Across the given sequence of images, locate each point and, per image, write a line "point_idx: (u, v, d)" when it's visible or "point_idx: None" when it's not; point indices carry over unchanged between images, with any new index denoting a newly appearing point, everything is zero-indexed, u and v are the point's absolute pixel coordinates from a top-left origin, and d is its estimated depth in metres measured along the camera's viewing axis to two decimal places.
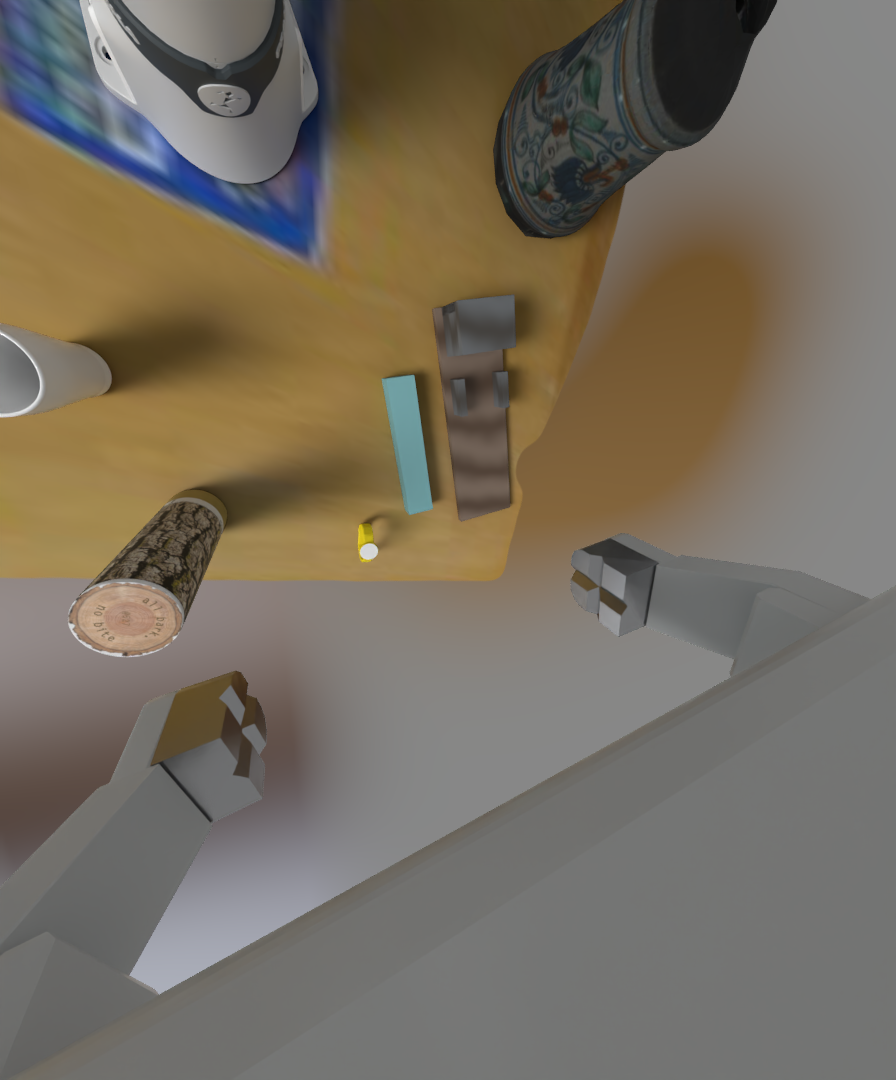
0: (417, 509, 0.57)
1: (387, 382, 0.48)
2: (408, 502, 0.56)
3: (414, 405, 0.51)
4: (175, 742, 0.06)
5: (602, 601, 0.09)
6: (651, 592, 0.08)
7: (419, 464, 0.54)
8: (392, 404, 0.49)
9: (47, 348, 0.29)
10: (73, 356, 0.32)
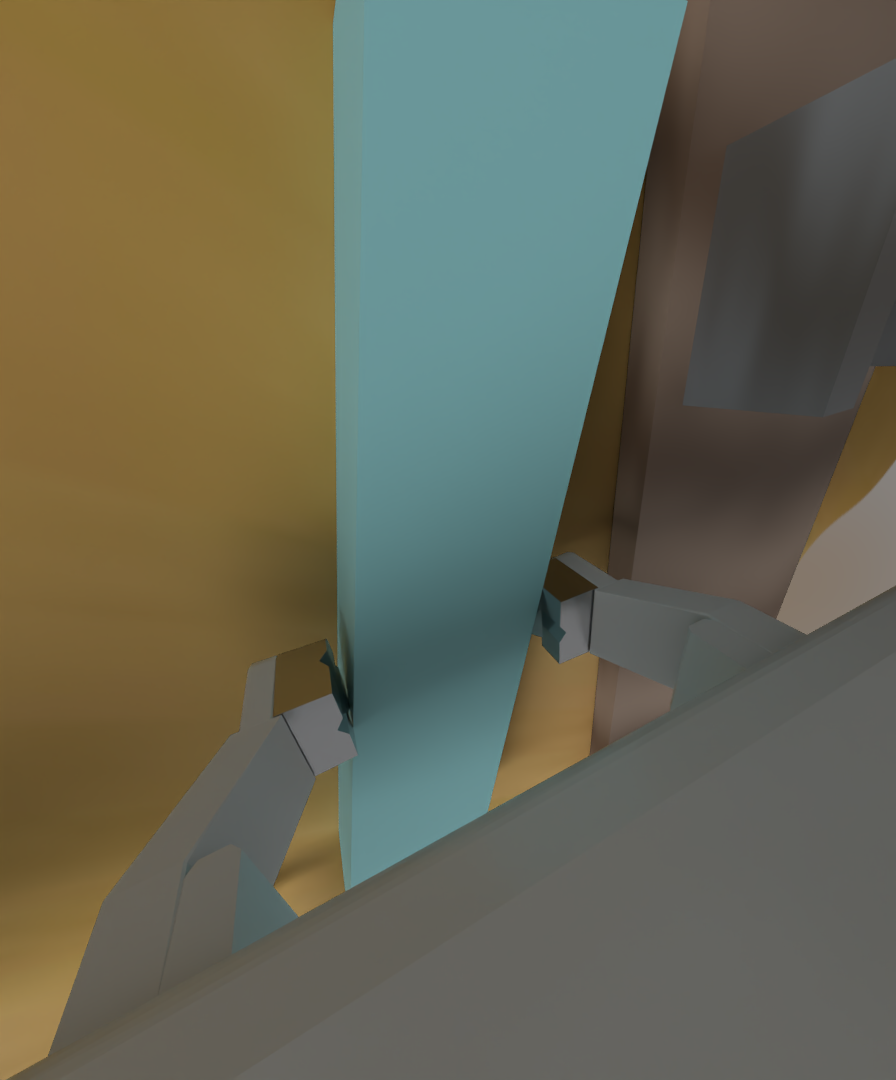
0: None
1: None
2: None
3: (572, 340, 0.06)
4: (290, 698, 0.06)
5: (543, 625, 0.08)
6: (592, 617, 0.08)
7: (474, 725, 0.09)
8: (382, 249, 0.04)
9: None
10: None
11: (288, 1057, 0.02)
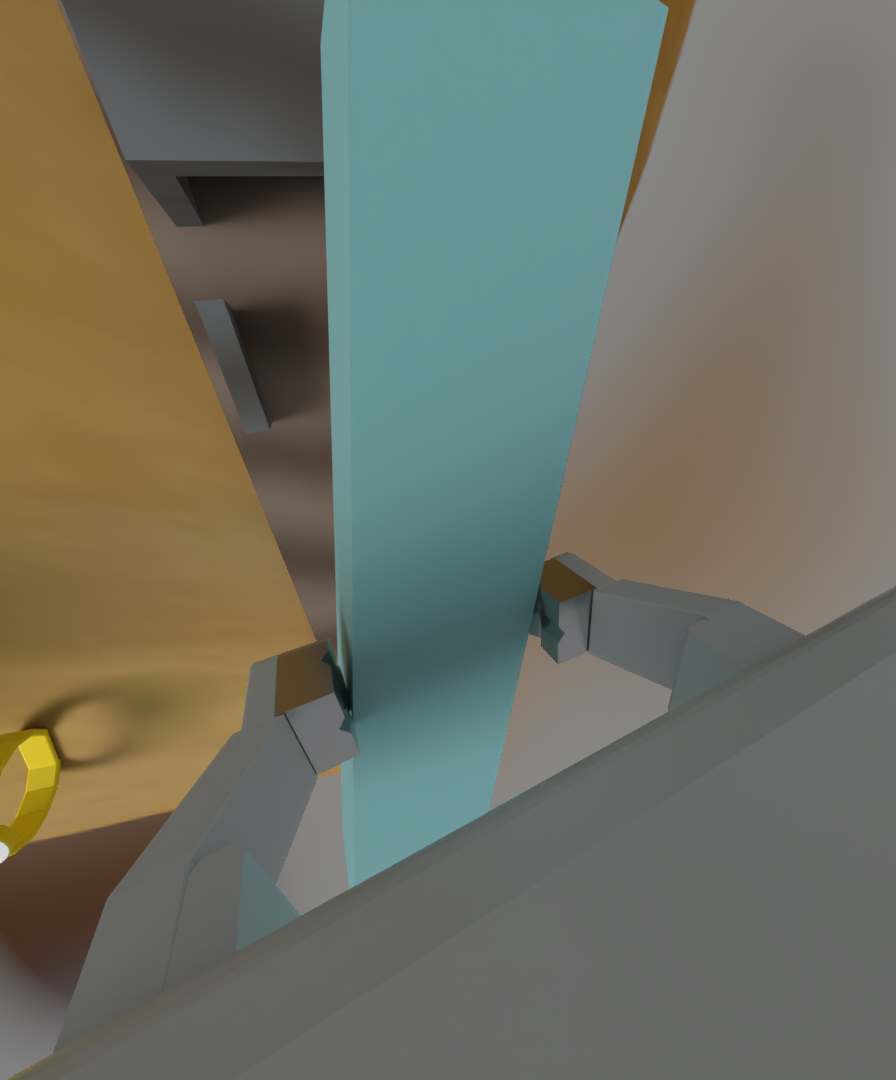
0: None
1: None
2: None
3: (562, 343, 0.06)
4: (292, 697, 0.06)
5: (542, 626, 0.08)
6: (591, 617, 0.08)
7: (473, 724, 0.09)
8: (372, 260, 0.04)
9: None
10: None
11: (288, 1057, 0.02)
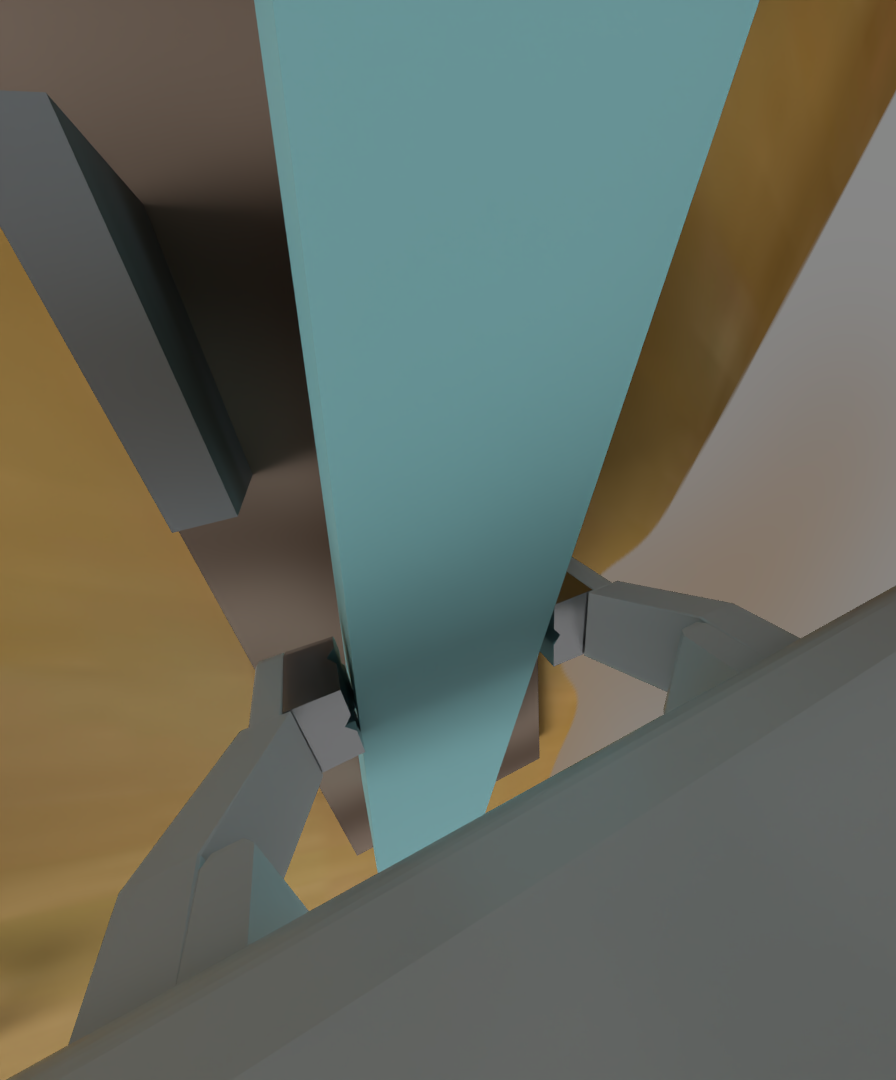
0: (417, 849, 0.13)
1: None
2: (381, 850, 0.11)
3: (598, 366, 0.04)
4: (298, 695, 0.06)
5: None
6: (587, 619, 0.08)
7: (481, 729, 0.09)
8: (340, 295, 0.03)
9: None
10: None
11: (288, 1057, 0.02)
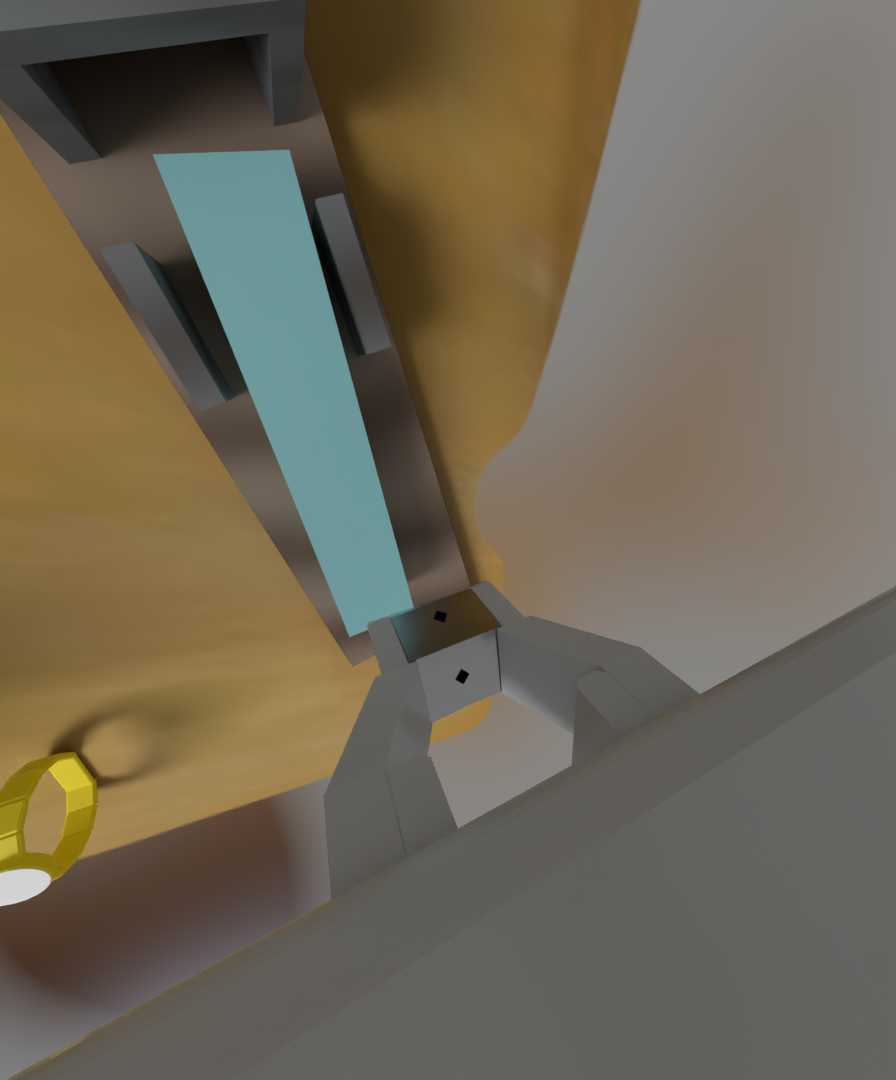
0: (371, 620, 0.21)
1: (166, 176, 0.11)
2: (341, 607, 0.19)
3: (311, 293, 0.13)
4: (419, 648, 0.07)
5: None
6: (499, 656, 0.07)
7: (361, 500, 0.17)
8: (216, 287, 0.12)
9: None
10: None
11: (288, 1057, 0.02)
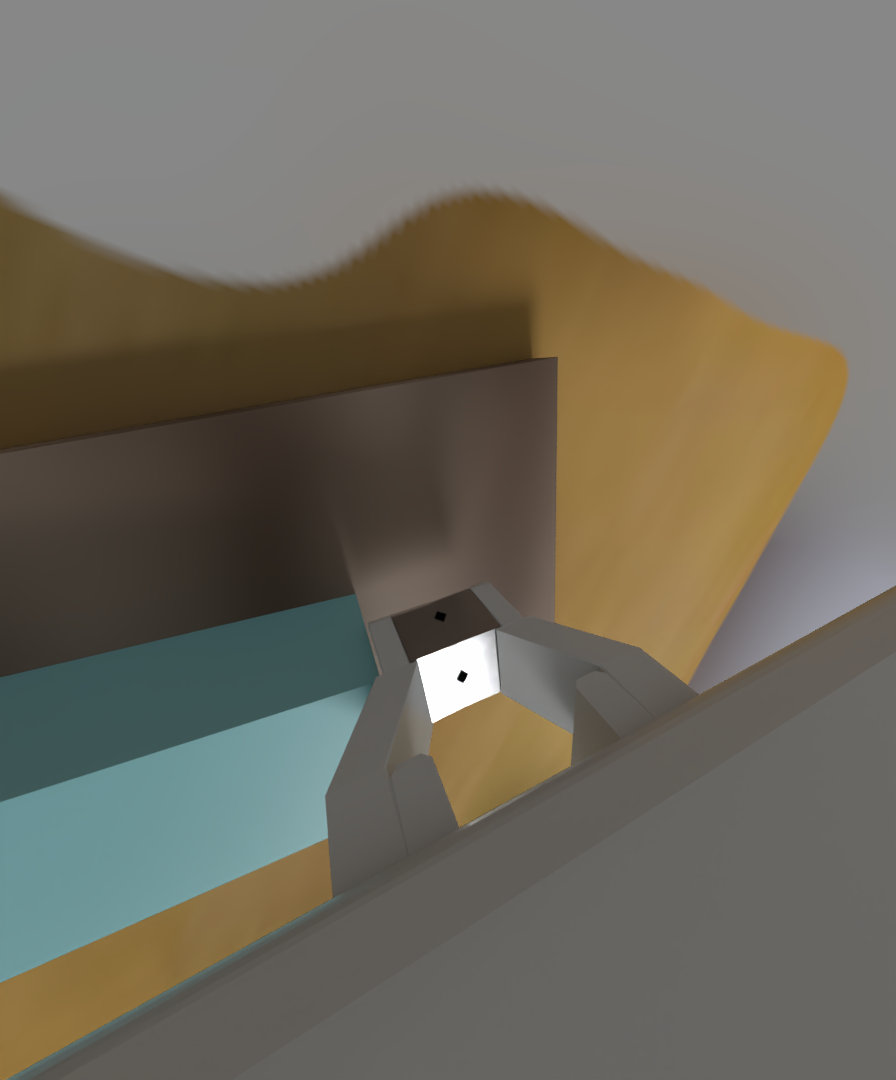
0: None
1: None
2: (303, 843, 0.07)
3: None
4: (419, 647, 0.07)
5: None
6: (498, 656, 0.07)
7: None
8: None
9: None
10: None
11: (288, 1058, 0.02)
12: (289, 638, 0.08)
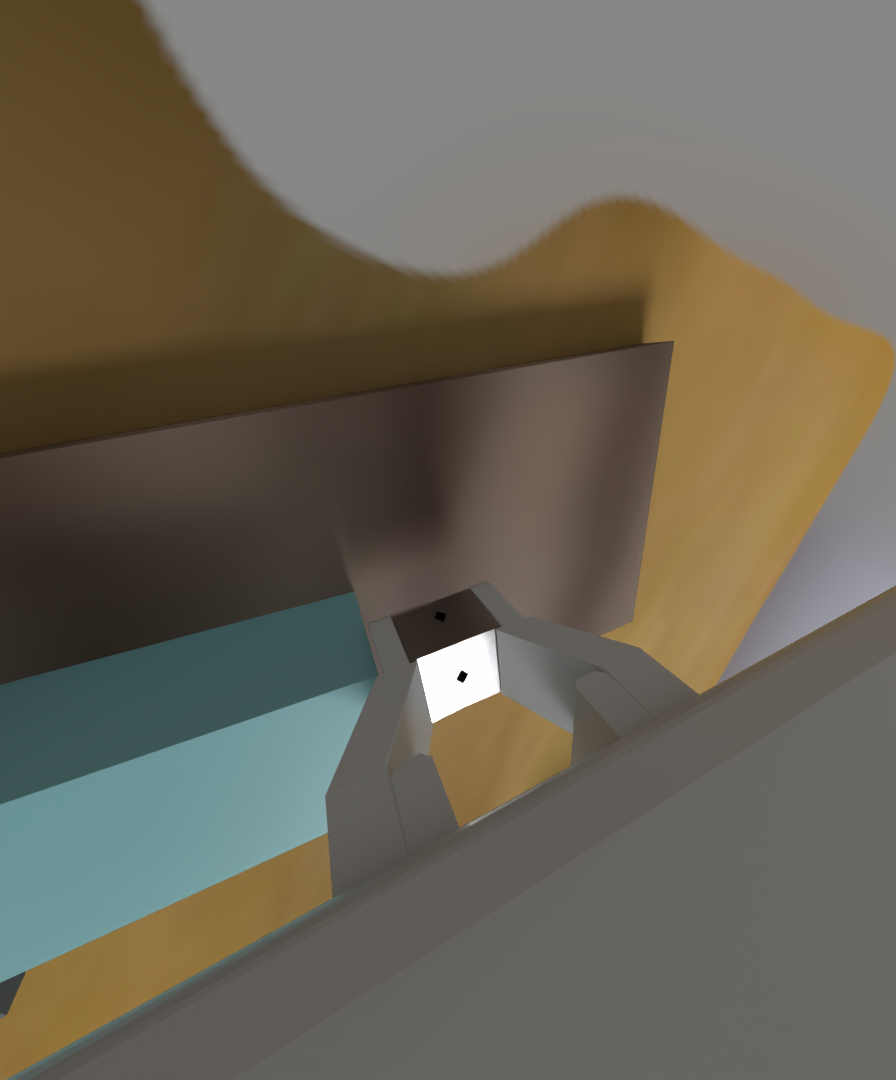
0: None
1: None
2: (309, 835, 0.08)
3: None
4: (420, 647, 0.07)
5: None
6: (498, 657, 0.07)
7: None
8: None
9: None
10: None
11: (288, 1057, 0.02)
12: (289, 636, 0.08)
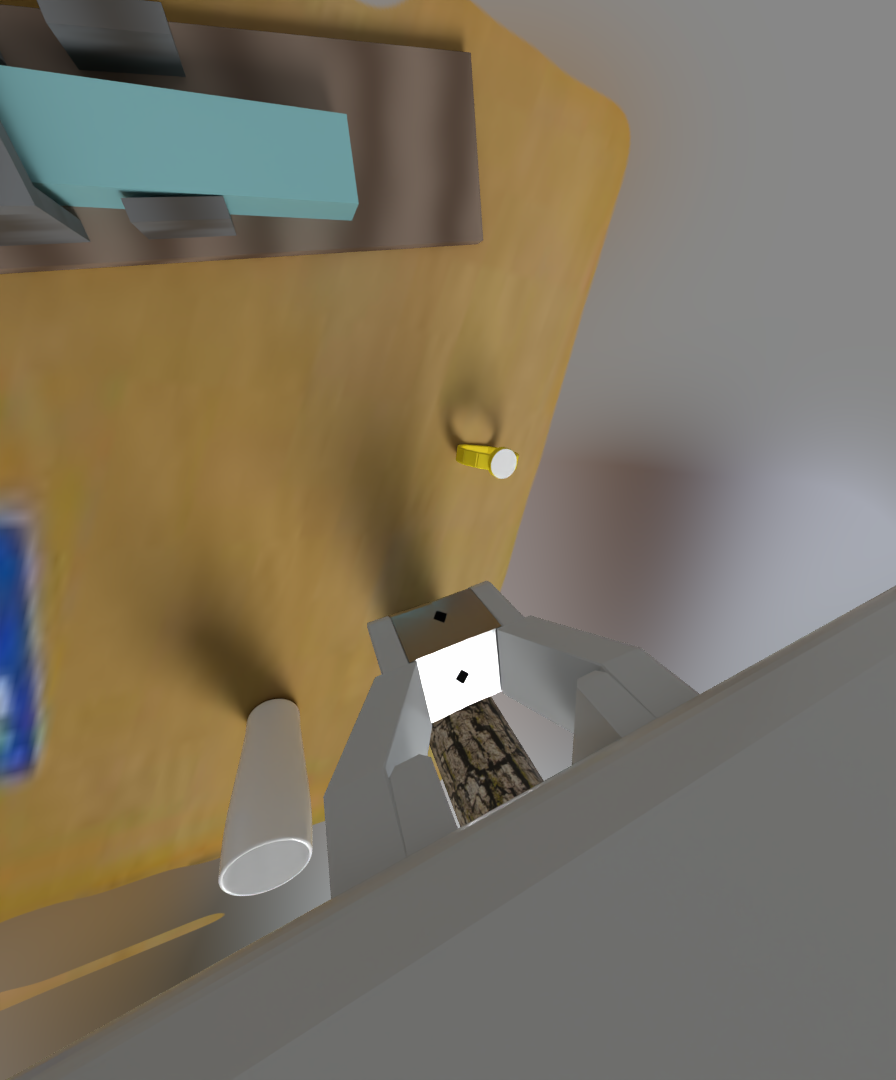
0: (345, 172, 0.22)
1: None
2: (324, 197, 0.22)
3: None
4: (419, 648, 0.07)
5: None
6: (499, 656, 0.07)
7: (205, 122, 0.19)
8: None
9: (239, 815, 0.29)
10: (250, 768, 0.32)
11: (288, 1057, 0.02)
12: None
